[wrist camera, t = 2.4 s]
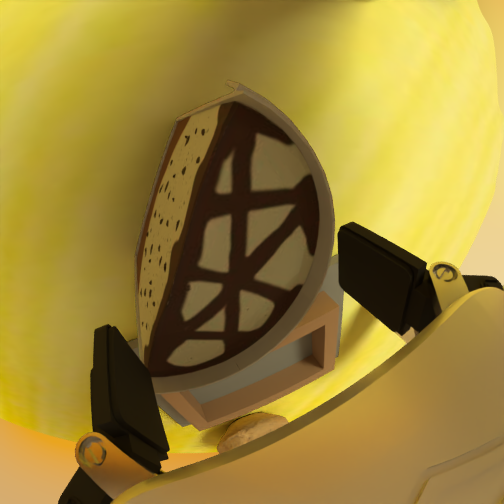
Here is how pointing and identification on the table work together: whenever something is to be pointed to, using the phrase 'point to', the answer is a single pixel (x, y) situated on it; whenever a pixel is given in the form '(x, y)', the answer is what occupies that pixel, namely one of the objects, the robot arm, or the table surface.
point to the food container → (229, 242)
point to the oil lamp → (249, 430)
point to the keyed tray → (268, 366)
